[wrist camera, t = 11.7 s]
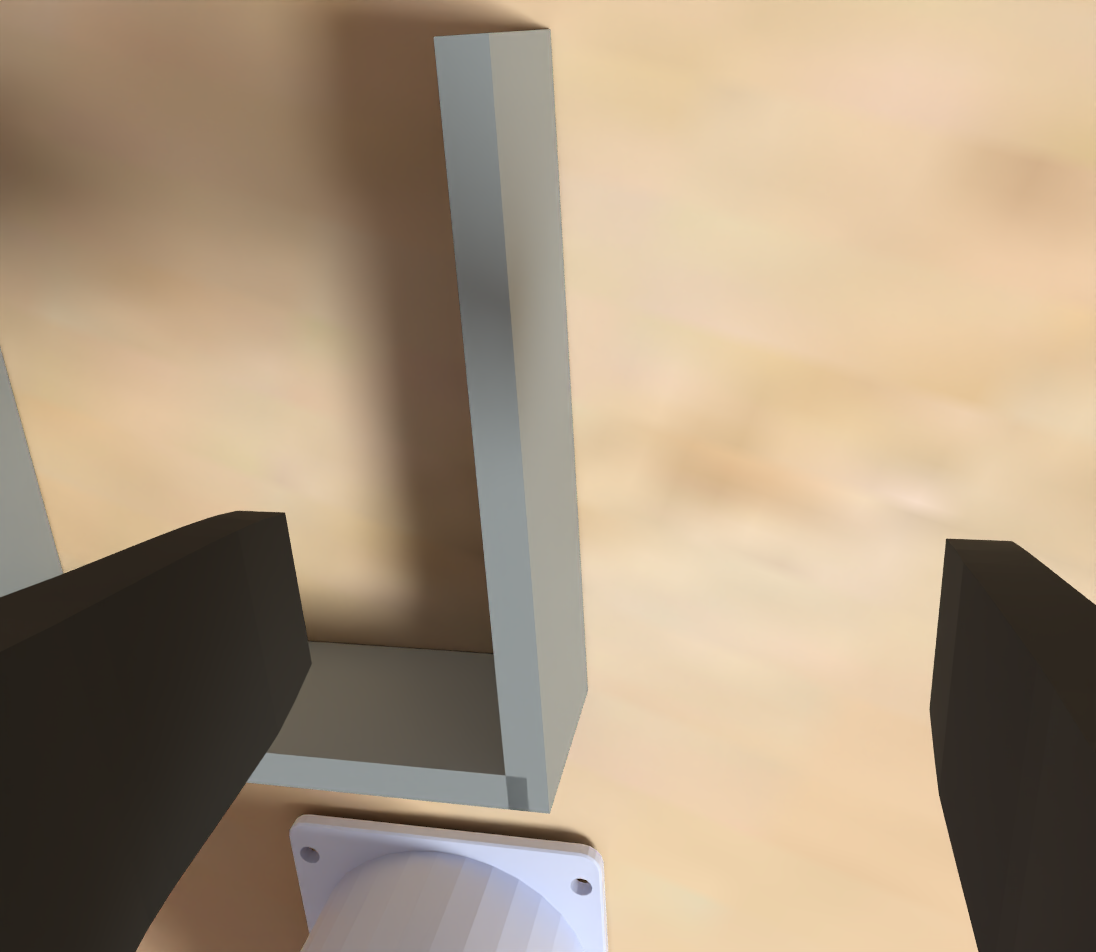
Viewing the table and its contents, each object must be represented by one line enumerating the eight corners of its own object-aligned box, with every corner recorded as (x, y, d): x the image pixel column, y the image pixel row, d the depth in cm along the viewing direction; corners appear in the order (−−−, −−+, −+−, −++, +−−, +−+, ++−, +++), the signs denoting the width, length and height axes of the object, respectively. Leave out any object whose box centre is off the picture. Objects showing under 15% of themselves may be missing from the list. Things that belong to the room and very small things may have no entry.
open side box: (587, 690, 23) (550, 813, 20) (57, 650, 26) (-59, 751, 23) (550, 28, 18) (488, 32, 14) (-111, 74, 21) (-297, 86, 17)
